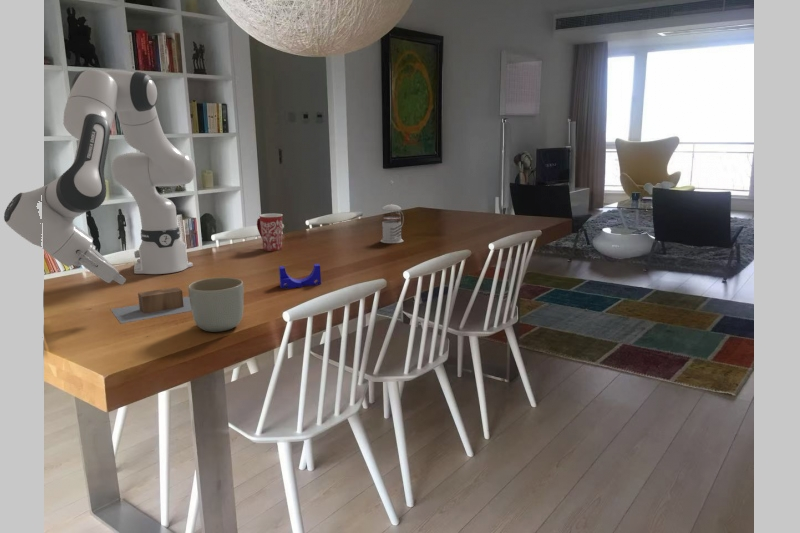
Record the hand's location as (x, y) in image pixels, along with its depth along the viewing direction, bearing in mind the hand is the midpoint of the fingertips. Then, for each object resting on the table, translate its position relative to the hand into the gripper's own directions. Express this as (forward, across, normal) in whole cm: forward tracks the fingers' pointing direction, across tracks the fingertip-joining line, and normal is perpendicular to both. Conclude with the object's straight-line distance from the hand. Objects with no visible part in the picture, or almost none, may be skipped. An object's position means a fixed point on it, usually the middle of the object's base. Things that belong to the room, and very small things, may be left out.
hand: (123, 281), depth 148 cm
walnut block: (+7, 0, +2) cm, 7 cm away
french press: (+85, +41, -73) cm, 119 cm away
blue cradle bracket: (+41, 0, -28) cm, 50 cm away
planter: (+18, -23, -5) cm, 29 cm away
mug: (+51, +58, -39) cm, 87 cm away
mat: (+12, 0, +1) cm, 12 cm away
